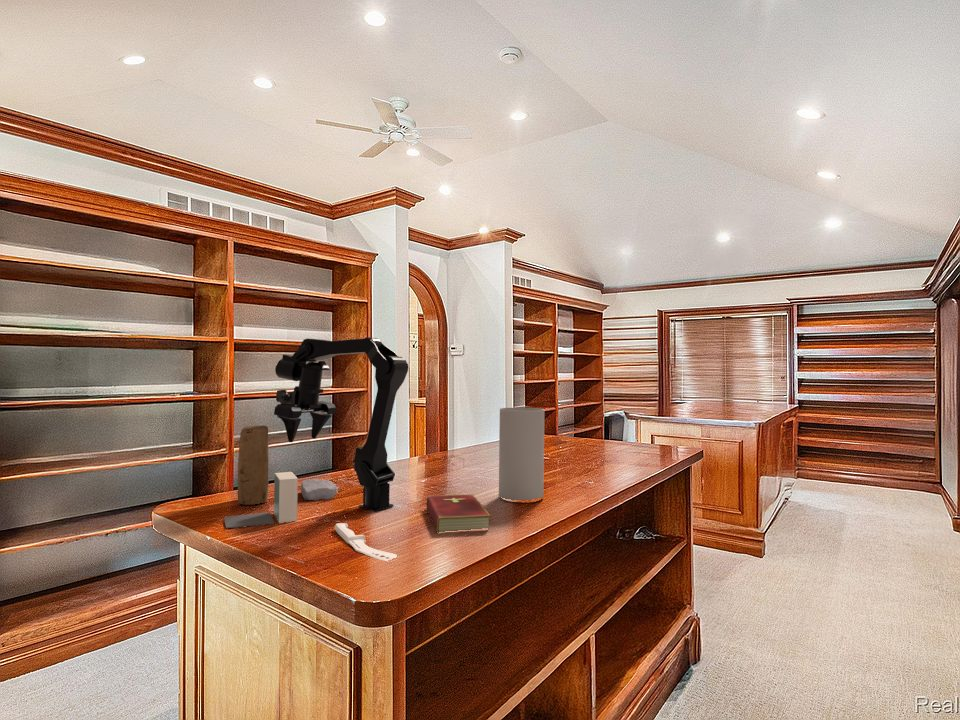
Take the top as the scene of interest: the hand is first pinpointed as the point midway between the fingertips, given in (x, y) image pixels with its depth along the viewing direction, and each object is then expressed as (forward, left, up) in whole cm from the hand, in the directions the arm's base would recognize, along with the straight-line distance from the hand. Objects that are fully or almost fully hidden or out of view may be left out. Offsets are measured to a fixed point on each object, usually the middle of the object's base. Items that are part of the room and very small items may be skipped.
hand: (302, 440), depth 150 cm
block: (+6, +10, -16) cm, 20 cm away
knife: (-46, +17, -17) cm, 52 cm away
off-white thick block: (-14, +14, -16) cm, 26 cm away
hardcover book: (-47, -10, -17) cm, 50 cm away
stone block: (-2, -5, -16) cm, 17 cm away
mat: (-10, +22, -16) cm, 29 cm away
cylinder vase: (-48, -38, -16) cm, 63 cm away
